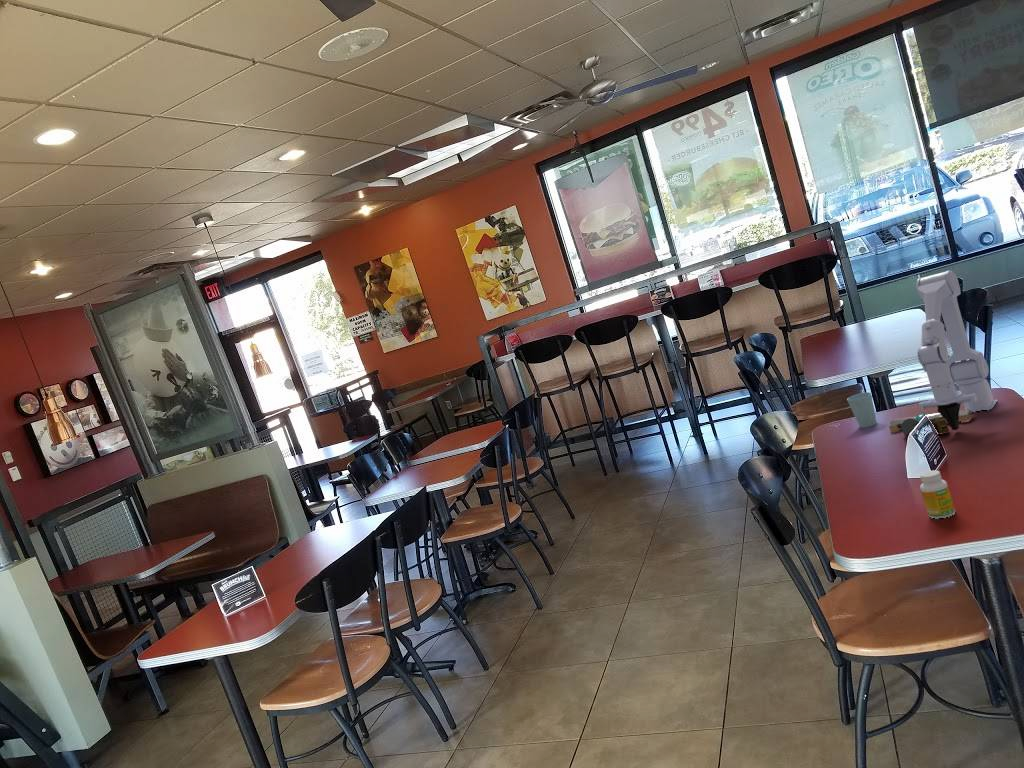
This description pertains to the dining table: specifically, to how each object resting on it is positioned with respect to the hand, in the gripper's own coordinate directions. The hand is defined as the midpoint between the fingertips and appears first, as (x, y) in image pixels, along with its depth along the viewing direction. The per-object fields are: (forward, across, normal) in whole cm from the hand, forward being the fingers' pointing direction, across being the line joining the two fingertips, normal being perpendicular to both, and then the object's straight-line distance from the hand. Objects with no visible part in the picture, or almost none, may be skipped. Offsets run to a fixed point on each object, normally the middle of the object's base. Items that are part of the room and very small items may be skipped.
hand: (955, 428), depth 221 cm
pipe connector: (+2, -8, -1) cm, 8 cm away
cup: (+1, -33, +22) cm, 40 cm away
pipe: (+1, -10, +11) cm, 15 cm away
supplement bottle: (+1, +12, -62) cm, 63 cm away
